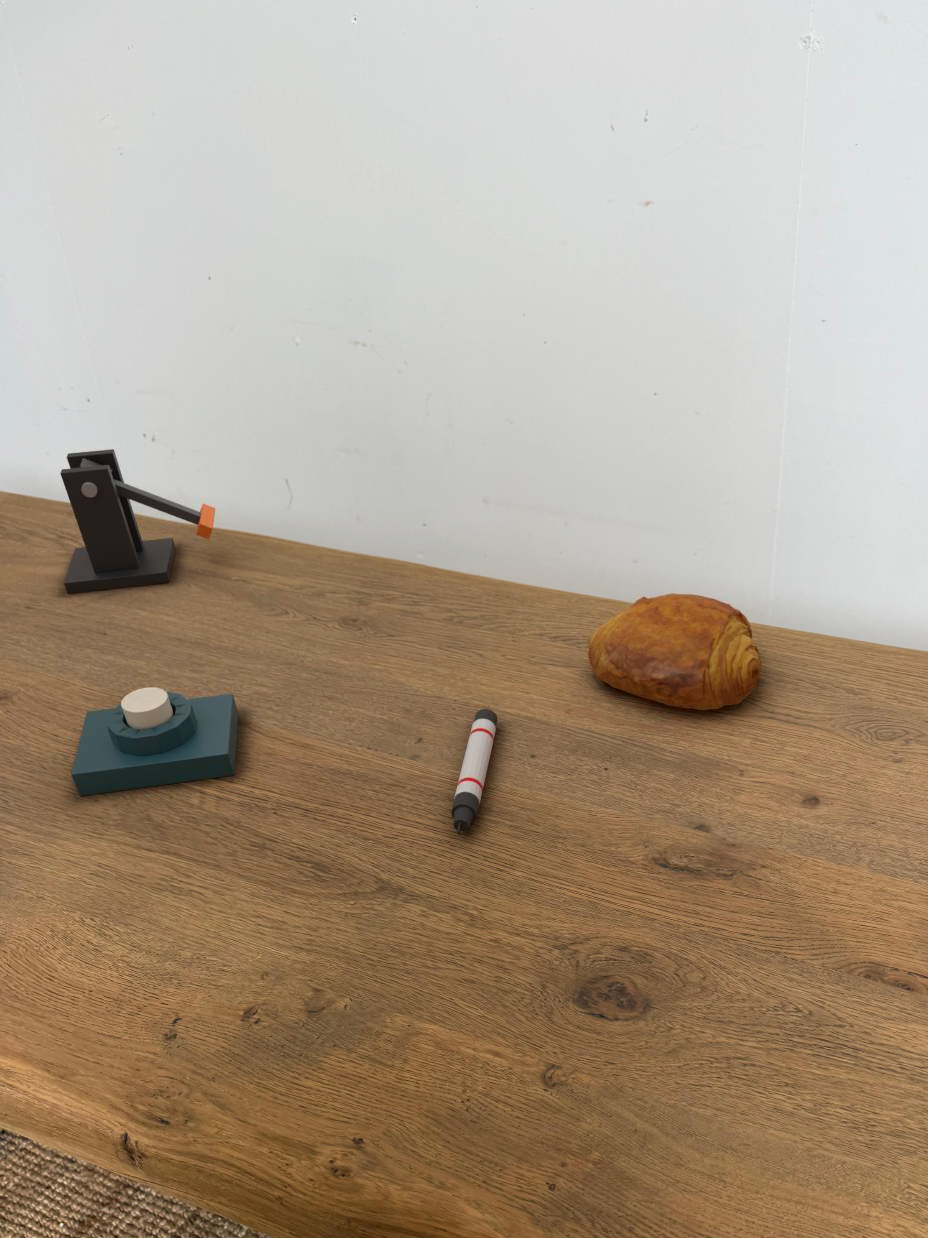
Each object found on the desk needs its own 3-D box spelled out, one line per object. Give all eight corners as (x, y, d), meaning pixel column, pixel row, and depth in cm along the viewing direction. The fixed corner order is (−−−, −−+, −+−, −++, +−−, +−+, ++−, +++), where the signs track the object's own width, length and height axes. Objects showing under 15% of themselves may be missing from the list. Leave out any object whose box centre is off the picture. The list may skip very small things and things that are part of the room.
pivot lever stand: (175, 547, 127) (144, 440, 119) (169, 582, 121) (136, 471, 113) (78, 558, 125) (40, 450, 118) (67, 593, 119) (26, 482, 112)
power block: (79, 796, 94) (63, 755, 91) (94, 732, 100) (79, 693, 98) (234, 775, 96) (222, 735, 93) (238, 714, 102) (227, 675, 100)
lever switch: (210, 523, 124) (217, 503, 123) (207, 544, 121) (214, 524, 119) (78, 473, 118) (84, 452, 117) (71, 493, 115) (77, 472, 113)
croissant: (713, 757, 100) (727, 683, 94) (561, 685, 105) (566, 610, 99) (788, 673, 109) (805, 601, 103) (645, 611, 114) (654, 538, 108)
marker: (475, 727, 100) (473, 708, 99) (498, 728, 100) (496, 708, 99) (447, 844, 88) (444, 824, 87) (473, 845, 88) (470, 824, 87)
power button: (124, 732, 94) (118, 714, 93) (129, 708, 97) (123, 690, 96) (171, 726, 95) (165, 708, 93) (175, 702, 97) (169, 684, 96)
